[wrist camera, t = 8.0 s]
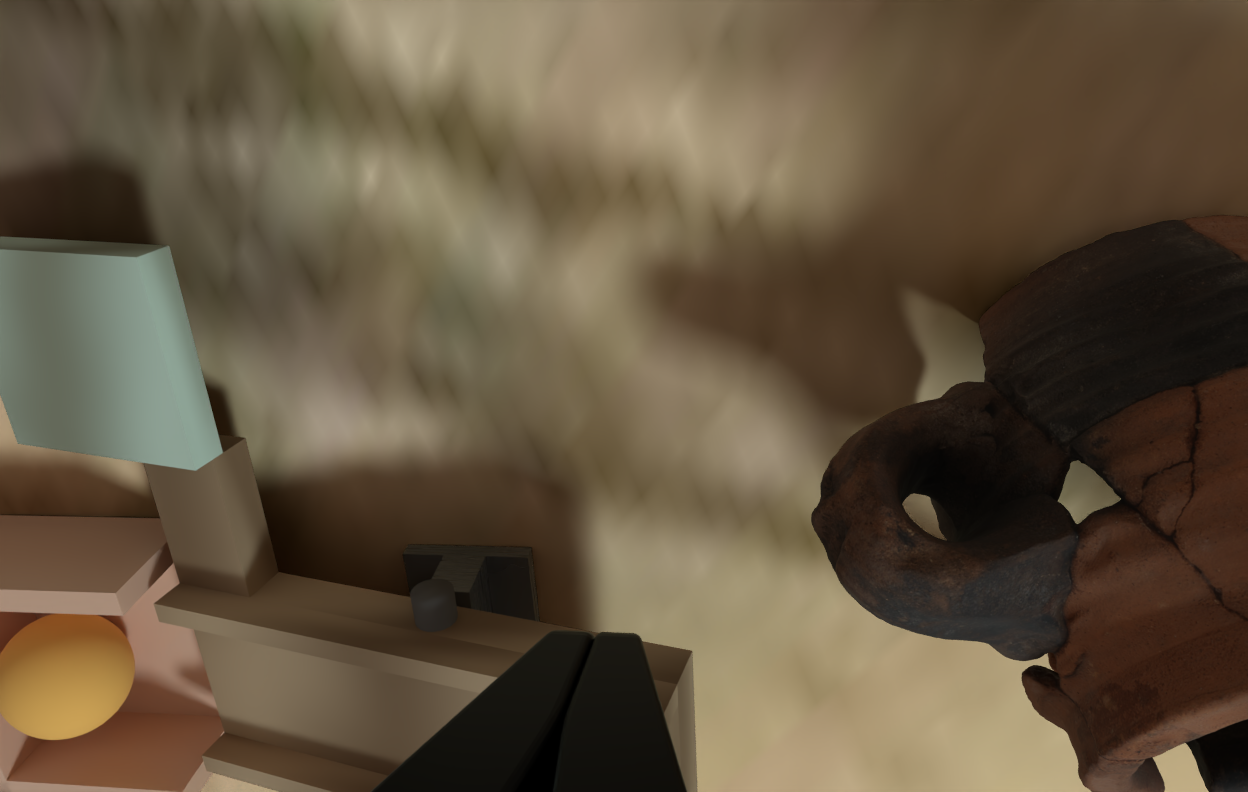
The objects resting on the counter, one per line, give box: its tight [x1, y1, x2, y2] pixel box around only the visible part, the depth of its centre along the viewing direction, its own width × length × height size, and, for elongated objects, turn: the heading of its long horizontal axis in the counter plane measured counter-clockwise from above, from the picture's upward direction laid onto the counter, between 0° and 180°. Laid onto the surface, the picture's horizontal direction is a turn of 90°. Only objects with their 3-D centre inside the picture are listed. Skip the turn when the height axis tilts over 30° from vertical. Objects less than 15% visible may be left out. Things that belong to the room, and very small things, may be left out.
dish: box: [0, 515, 224, 792], centre depth 24 cm, size 6×6×3 cm
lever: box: [0, 236, 697, 792], centre depth 20 cm, size 15×14×2 cm
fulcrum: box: [403, 545, 540, 622], centre depth 23 cm, size 3×5×2 cm, turn 3°
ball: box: [0, 613, 135, 740], centre depth 24 cm, size 3×3×3 cm
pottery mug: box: [811, 215, 1248, 792], centre depth 18 cm, size 12×10×8 cm
